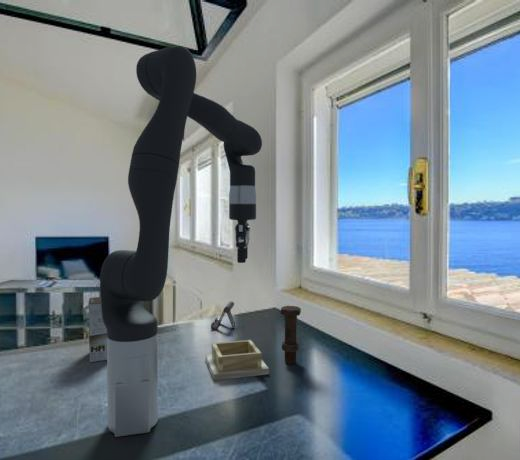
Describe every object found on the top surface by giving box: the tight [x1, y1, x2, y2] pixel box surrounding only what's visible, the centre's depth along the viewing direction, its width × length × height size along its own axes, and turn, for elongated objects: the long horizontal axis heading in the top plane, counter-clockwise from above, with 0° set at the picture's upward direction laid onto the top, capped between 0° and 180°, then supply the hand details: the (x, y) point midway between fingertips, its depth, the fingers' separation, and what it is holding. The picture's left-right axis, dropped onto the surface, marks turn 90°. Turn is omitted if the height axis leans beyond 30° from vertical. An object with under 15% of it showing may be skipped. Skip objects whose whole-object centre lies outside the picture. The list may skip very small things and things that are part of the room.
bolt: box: [280, 305, 302, 365], centre depth 106 cm, size 6×5×15 cm
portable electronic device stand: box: [210, 301, 236, 331], centre depth 140 cm, size 9×8×8 cm
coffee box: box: [88, 296, 107, 363], centre depth 111 cm, size 9×6×16 cm
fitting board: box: [205, 339, 270, 381], centre depth 103 cm, size 14×14×5 cm
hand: (242, 260), depth 110 cm, fingers open, 8 cm apart
